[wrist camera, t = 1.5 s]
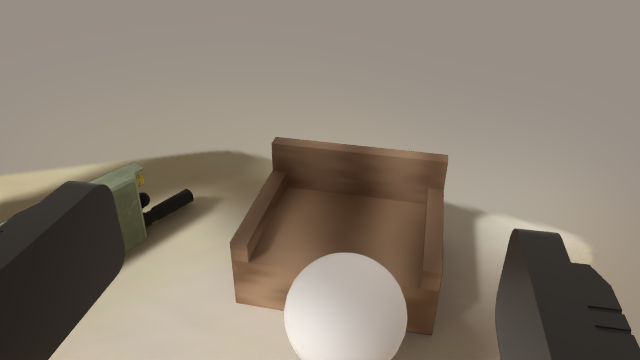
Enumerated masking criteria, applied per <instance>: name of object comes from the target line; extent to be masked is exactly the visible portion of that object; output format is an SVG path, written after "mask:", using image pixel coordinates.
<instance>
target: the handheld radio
mask: <svg viewBox="0 0 640 360" xmlns="http://www.w3.org/2000/svg"><path fill="white" fill-rule="evenodd" d="M142 169H143V167H141V166H139V165H138V164H136V163H135V162H134V163H131V164H129V165H126V166H123V167H121V168H119V169H117V170H115V171H112V172H110V173H108V174H106V175H104V176H102V177H100V178H97V179H95V180H93V181H91V182H89V183H95V184H104V185H106V186H108V187H109V188H110V190H111V191H112V194H113V197H114V201H115V206H116V210H117V214H118V219H119V223H120V227H121V231H122V236H123V240H124V245H125V252H126V251H127V250H129V249H131V248H132V247H134V246H136V245H137V244H139V243H141V242H142V241H144V240H145V239H146V238H147V234H146V228H147V227H149V226H151V225H152V223H153V222H155V221H157V220H160V219H162V218H163V217H165V216H167V215H169V214H170V213H172V212H174V211H176V210H177V209H179V208H181V207H183V206H185V205H186V204H188V203H190V202H192V201H193V199H194V197H193V194H192V193H191V191H190V190H188V189H185V190H183V191H181V192H180V193H178V194H176V195H174V196H172V197H171V198H169V199H167V200H165V201H163V202H162V203H160V204H158V205H156V206H154V207H153V208H151V210H150V211H148V212H146V213H145V212H144V213H143V212H142V209H143V208H144V207H145V206H147V205H148V204H149V202H150V198H149V196H148V195H147V194H146V193H139V191H138V186H141V185H142V184H144V182H145V181H144V178H143V176H142V175H140V174H137V173H139V172H140V171H141V170H142ZM136 174H137V175H136ZM7 221H8V220H7ZM5 222H6V221H5ZM5 222H3V223H1V224H0V226H1V225H2V224H4V223H5Z"/></svg>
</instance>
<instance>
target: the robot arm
mask: <svg viewBox="0 0 640 360" xmlns="http://www.w3.org/2000/svg"><path fill="white" fill-rule="evenodd" d="M124 257H125V245H124V240H123V236H122V231H121V227H120V223H119V219H118V214H117V210H116V206H115V201H114V197H113V194H112V191H111V190H110V188H109V187H108V186H106V185H104V184H95V183H85V182H75V181H68V182H66V183H64V184H63V185H61V186H60V187H59V188H57V189H56V190H55V191H54V192H52V193H51V194H50V195H49V196H47V197H46V198H45V199H44V200H42V201H41V202H40V203H38V204H36V205H34V206H32V207H30V208H28V209H26V210H24V211H21V212H19V213H17V214H15V215H14V216H13V217H11V218H10V219H9V220H8V221H6V222H5V223H4V224H2V225H1V226H0V360H48V359H49V358H50V357H51V355H52V354H53V353H54V352H55V351H56V349H57V348H58V347H59V346H60V345H61V343H62V342H63V341H64V340H65V338H66V337H67V336H68V335H69V334H70V332H71V331H72V330H73V329H74V327H75V326H76V325H77V324H78V323H79V321H80V320H81V319H82V318H83V316H84V315H85V314H86V313H87V312H88V310H89V309H90V308H91V307H92V305H93V304H94V303H95V302H96V301H97V299H98V298H99V297H100V296H101V294H102V293H103V292H104V291H105V290H106V288H107V287H108V286H109V285H110V283H111V282H112V281H113V280H114V279H115V277H116V276H117V275H118V273H119V272H120V270H121V268H122V265H123V262H124ZM495 323H496V332H497V338H498V345H499V352H500V358H501V360H640V348H639V346H638V344H637V341H636V339H635V337H634V335H631V328H630V326H629V324H628V322H627V320H626V317H625V315H623V314H622V309H621V306H620V304H619V302H618V300H617V298H616V296H615V294H614V291H613V289H612V287H611V286H610V285H609V284H608V283H607V282H606V281H605V280H604V279H603V278H602V277H601V276H600V275H599V274H598V273H597V272H596V271H595V270H594V269H593V268H592V267H591V266H590V265H587V264H578V263H571V262H570V259H569V256H568V254H567V251H566V248H565V246H564V243H563V240H562V238H561V236H560V234H558V233H553V232H544V231H534V230H524V229H514V230H513V231H512V233H511V236H510V240H509V244H508V248H507V253H506V257H505V261H504V266H503V270H502V274H501V279H500V283H499V287H498V292H497V297H496V307H495Z"/></svg>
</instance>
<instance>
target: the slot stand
mask: <svg viewBox="0 0 640 360" xmlns="http://www.w3.org/2000/svg"><path fill="white" fill-rule="evenodd" d="M272 161H273V171H272V173H271V174H270V176H269V178H268V179H267V181H266V183H265V184H264V186H263V188H262V189H261V191H260V193H259V194H258V196H257V198H256V199H255V201H254V203H253V205H252V206H251V208H250V210H249V211H248V213H247V215H246V216H245V218H244V220H243V221H242V223H241V225H240V226H239V228H238V230H237V231H236V233H235V235H234V236H233V238H232V240H231V242H230V249H231V259H232V268H233V277H234V287H235V296H236V303H242V304H248V305H254V306H260V307H266V308H272V309H278V310H284V308H285V303H286V298H287V294H288V292H289V290H290V288H291V286H292V284H293V282H294V280H295V279H296V277H297V276H298V275H299V274H300V273H301V272H302V270H303V269H304V268H306V267H307V266H308V265H309V264H311V263H312V262H314V261H316V260H317V259H319V258H321V257H323V256H326V255H329V254H334V253H344V252H345V253H355V254H360V255H364V256H367V257H369V258H371V259H373V260H375V261H376V262H378V263H379V264H381V265H382V266H383V267H385V268H386V269H387V270H388V271H389V272H390V273H391V275H392V276H393V277H394V278H395V280H396V281H397V283H398V284H399V286H400V288H401V291H402V293H403V296H404V299H405V302H406V309H407V326H406V331H409V332H415V333H421V334H427V335H432V330H433V324H434V318H435V313H436V307H437V301H438V295H439V290H440V284H441V278H442V259H443V197H444V184H445V178H446V171H447V165H448V155H442V154H433V153H423V152H414V151H404V150H395V149H384V148H376V147H375V148H374V147H366V146H356V145H346V144H337V143H328V142H317V141H309V140H299V139H290V138H279V137H276V138H275V139H274V141H273V142H272Z"/></svg>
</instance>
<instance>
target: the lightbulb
mask: <svg viewBox="0 0 640 360" xmlns="http://www.w3.org/2000/svg"><path fill="white" fill-rule="evenodd" d="M284 321H285V329H286V332H287V335H288V338H289V341H290V343H291V346H292V347H293V349H294V351H295V352H296V354H297V355H298V356H299V357H300V358H301V360H391V359H392V358H393V357H394V355H395V354H396V353H397V351H398V349H399V347H400V345H401V343H402V341H403V338H404V336H405V332H406V326H407V309H406V302H405V299H404V296H403V293H402V291H401V288H400V286H399V284H398V283H397V281H396V280H395V278H394V277H393V276H392V275H391V273H390V272H389V271H388V270H387V269H386V268H385V267H383V266H382V265H381V264H379V263H378V262H376V261H375V260H373V259H371V258H369V257H367V256H364V255H360V254H355V253H345V252H344V253H334V254H329V255H326V256H323V257H321V258H319V259H317V260H316V261H314V262H312V263H311V264H309V265H308V266H307V267H306V268H304V269H303V270H302V272H301V273H300V274H299V275H298V276H297V277H296V279H295V280H294V282H293V284H292V286H291V288H290V290H289V292H288V294H287V298H286V303H285V308H284Z"/></svg>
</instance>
